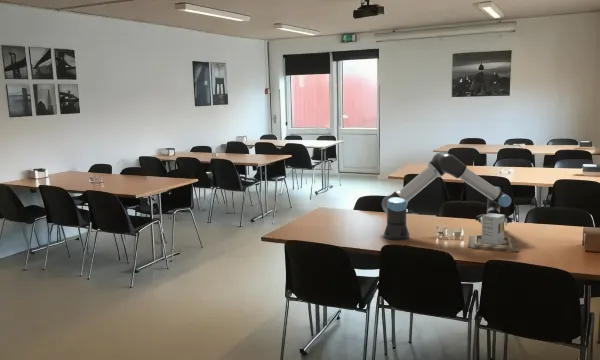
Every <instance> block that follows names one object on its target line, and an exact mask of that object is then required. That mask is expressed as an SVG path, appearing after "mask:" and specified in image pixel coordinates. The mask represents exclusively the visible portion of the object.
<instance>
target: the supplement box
mask: <svg viewBox="0 0 600 360" xmlns="http://www.w3.org/2000/svg"><path fill="white" fill-rule="evenodd" d="M505 215H506V214H501V213H500V214H495V213H488V214H487V213H486V214H485V213H484V215H483V216H482V224H481V235H482V243H481V244H491V245H502V244H503V243H504V236H505V222H504V221H505Z"/></svg>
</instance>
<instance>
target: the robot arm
mask: <svg viewBox="0 0 600 360" xmlns="http://www.w3.org/2000/svg"><path fill="white" fill-rule="evenodd" d="M445 174H447V175H449V176H452V177H454V178H456V179H460V180H461V181H463V182H464V183H465V184H467V185H469V186H471V187H472V188H473V189H474V190H476V191H477V192H479V193H480V194H481V195H484V197H487V206H486V214H488V213H495V214H501V213H500V212H501V207H502V208H507V207H509V206H510V205H511V203H512V198H511V197H510V196H509V195H508V194H506V193H504V192H502V191H501V190H502V189H501V187H499V186H494V185H492V184H491V183H489V182H488V181H487V180H485V179H484V178H482V177H480V176H479V175H478V174H476V173H475V172H474V171H472V170H470V168H468V166H467V165H466V164H465V163H463V162H462V161H461V160H460V159H458V158H457V156H455V155H453V154H451V153H448V152H446V151H445V152H444V151H441V152H437V153H436V154H434V156H433V157H432V159H431V160H430V161H429V162H428V164H427V167H426V168H424V170H422V171H421V172H420V173H419V174H417V175H416V176H415V177H414V178H413V179H412V180H410V181H409V182H408V183H407V184H405V186H403V187H401V188H400V190H398V191H396V190H395V191H394V192H392V193H391V194H388V195H386V196H385V197H383V199H382V202H381V208H382V211H383V212H384V213H385V214H386V226H385V229H384V232H383V238H385V239H388V240H390V241H391V240H393V241H402V240H403V241H405V240H408V239H409V238H410V232H409V229H408V226H407V208H408V205H409V204H408V203H409V201H411V199H413V198H414V197H415V196H416V195H417V194H419V193H420V192H421V191H422V190H423V189H424V188H426V187H427V186H429V184H430V183H432V182H433V181H435V179H436V178H441V177H443V176H444V175H445ZM483 215H485V213H481V214H479V215H476V216H475V221H477V222H478V223H480V225H482V216H483ZM504 215H505V221H504V227H505V226H508V224H509V223H510V224H511V223H512V222H513V218H512V217H509V216H507V215H506V214H504Z"/></svg>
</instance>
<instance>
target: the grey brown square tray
mask: <svg viewBox="0 0 600 360" xmlns="http://www.w3.org/2000/svg"><path fill="white" fill-rule="evenodd" d="M481 243H482V234H474V235H469V236H468V243H467V249H468V248H472V249H471V250H479V249H485V250H484V251H493V250H499V251H498V252H506V251H513V252H512V253H519V247H518V242H517V238H511V237H510V236H505V235H504V243H503V244H502V245H491V244H481Z"/></svg>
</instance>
